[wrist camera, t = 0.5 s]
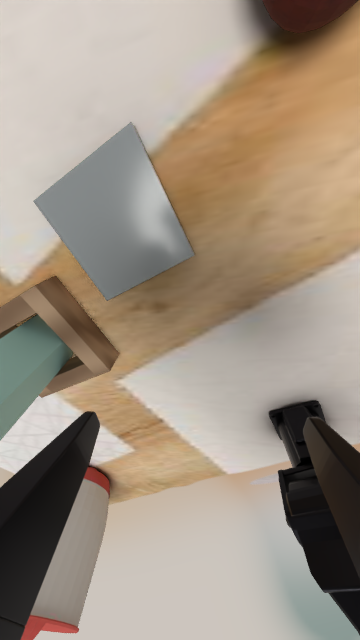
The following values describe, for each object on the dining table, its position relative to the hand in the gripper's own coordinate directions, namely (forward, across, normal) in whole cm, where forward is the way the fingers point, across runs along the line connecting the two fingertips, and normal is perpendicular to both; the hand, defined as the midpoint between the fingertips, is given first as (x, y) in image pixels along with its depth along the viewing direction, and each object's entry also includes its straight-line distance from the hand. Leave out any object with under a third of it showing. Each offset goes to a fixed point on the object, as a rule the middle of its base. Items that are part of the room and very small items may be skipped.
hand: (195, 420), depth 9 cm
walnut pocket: (+13, +17, +4) cm, 22 cm away
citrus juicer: (+14, +25, +38) cm, 48 cm away
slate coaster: (+13, +7, -7) cm, 16 cm away
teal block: (+13, +17, +4) cm, 22 cm away
